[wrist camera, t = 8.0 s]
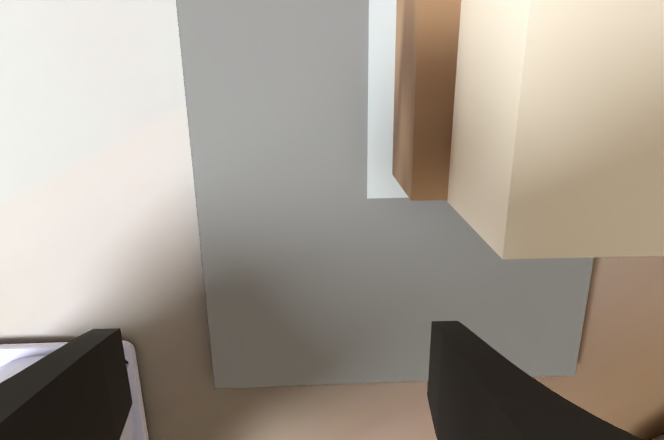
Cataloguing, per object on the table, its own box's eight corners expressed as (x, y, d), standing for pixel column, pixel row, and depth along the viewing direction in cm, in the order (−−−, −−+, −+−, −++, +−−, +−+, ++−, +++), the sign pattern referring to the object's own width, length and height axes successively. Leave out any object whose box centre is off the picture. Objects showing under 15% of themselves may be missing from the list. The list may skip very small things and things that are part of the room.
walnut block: (561, 170, 21) (618, 196, 17) (392, 174, 20) (410, 200, 17) (586, -17, 18) (658, -36, 15) (396, -16, 18) (419, -35, 14)
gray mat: (568, 368, 24) (576, 376, 24) (217, 380, 24) (214, 390, 23) (632, -44, 19) (644, -48, 18) (175, -41, 18) (170, -45, 18)
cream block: (580, 199, 17) (687, 255, 12) (447, 201, 17) (502, 259, 12) (616, -33, 15) (763, -76, 10) (463, -33, 14) (538, -78, 10)
